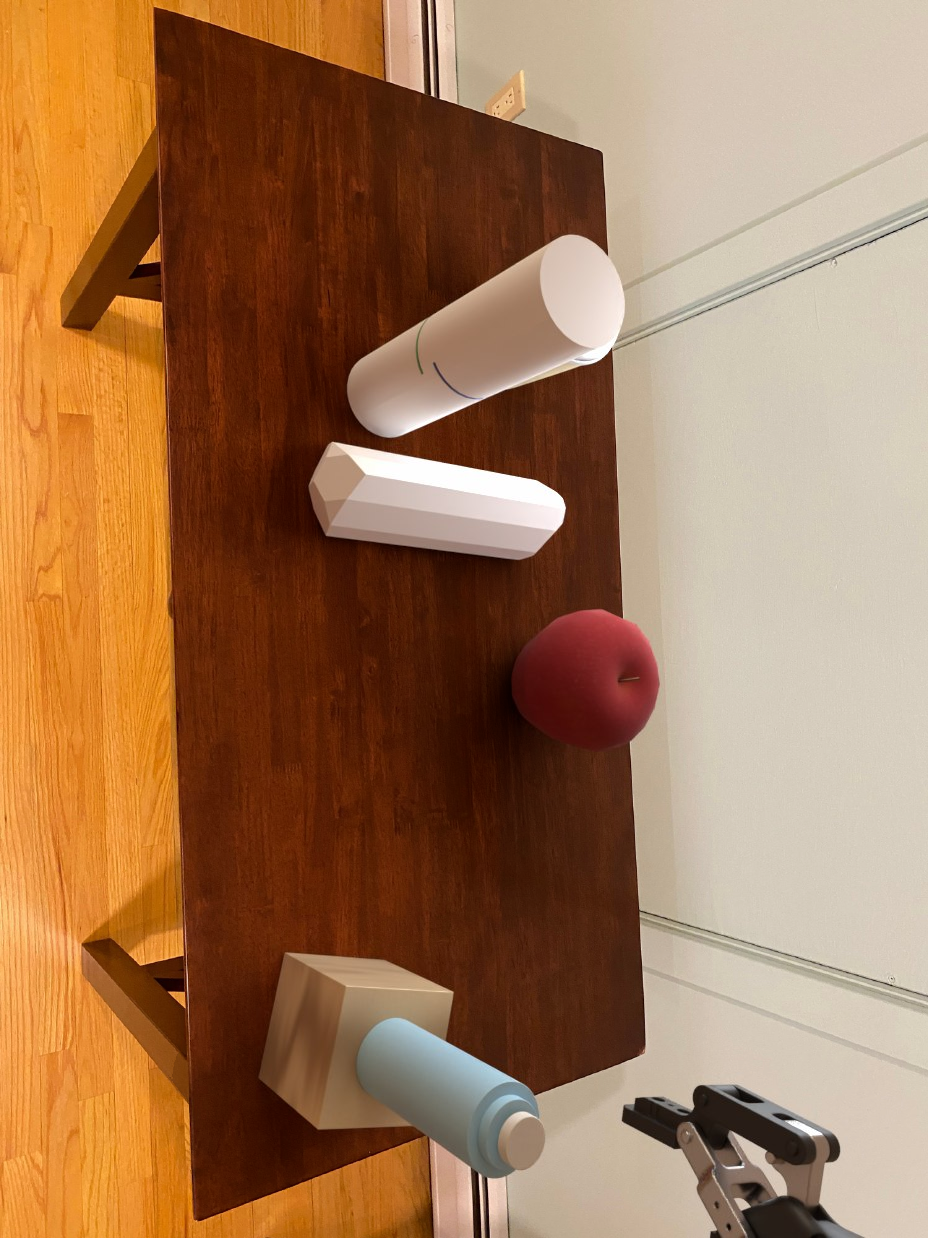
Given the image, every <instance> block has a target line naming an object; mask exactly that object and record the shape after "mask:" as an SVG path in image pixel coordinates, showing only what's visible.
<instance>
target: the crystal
mask: <svg viewBox="0 0 928 1238" xmlns="http://www.w3.org/2000/svg"><path fill="white" fill-rule="evenodd" d="M314 469H315V470H314V471H313V474H312V476H311V478H310V481H309V484H308V492H309V495H310V499H311V504H312V508H313V509H312V510H313V511H314V514H315V515H316V518H317V520H318V522H319V525H320V527H321V528H322V531H323V534H324V535H325V536H326V537H331V538H332V537H333V538H339V539H349V540H358V541H364V542H365V541H366V542H371V543H372V542H374V543H380V544H388V545H395V546H396V545H397V546H406V547H413V548H419V549H420V548H421V549H428V550H430V549H431V550H437V551H445V552H452V553H453V552H454V553H460V554H468V555H475V556H476V555H477V556H485V557H491V558H492V557H493V558H500V559H507V560H508V559H509V560H515V561H516V560H517V561H521V560H524V559H528V558H530V557H534V556H535V554H536V553H537V552H538V551H539V550H540V549H541V548H542V547H543V546H544V545H545V544H546V543H547V542H548V540H550V539H551V538H552V536H553V535H554V534H555V533H556V532H557V531H558V529H560V528H561V526H562V525H563V523H564V519H565V514H566V504H565V502H564V499H563V497H562V496H561V495H560V494H559V493H558V492H556V491H555V490H553V489H552V488H550V487H548V486H547V485H545V484H543V483H541V482H540V481H538V480H535V479H531V478H524V477H521V476H515V475H509V474H503V473H498V472H493V471H489V470H482V469H477V468H472V467H467V466H462V465H457V464H450V463H446V462H445V463H444V462H441V461H435V460H429V459H424V458H420V457H414V456H410V455H409V456H408V455H404V454H398V453H394V452H387V451H383V450H378V449H371V448H367V447H362V446H356V445H352V444H351V445H350V444H346V443H341V442H336V441H335V442H334V441H330V442H329V443H328V444H327V446H326V447H325V450H324V452H323V454H322V456H321V457H320V460H319V462H318V463H317V466H316V467H315V468H314Z"/></svg>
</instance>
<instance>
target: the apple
mask: <svg viewBox="0 0 928 1238" xmlns="http://www.w3.org/2000/svg"><path fill="white" fill-rule="evenodd" d="M660 686H661V683H660V675H659V667H658V662H657V660H656V657H655V654H654V651H653V648H652V646H651V642H650V640H649V639H648V638H647V637H646V635H645V634H644V632H643V631H642V630H641V628H640V627H639V626H638V624H637V623H634V622H632V621H630V620H627V619H626V618H625V619H624V618H622V617H620V616H618V615H617V614H616V615H615V614H614V613H611V612H609V611H607V610H604V609H602V608H598V609H586V610H585V609H583V610H578V611H574V612H572V613H568V614H565V615H562V616H559V617H556V618H554V620H553V621H552V622H550V623H549V624H548V625H547V626H545V627H544V628H543V629H542V630H541V631H540V632H539V633H537V634H536V635H535V636H533V638H531V639H530V640H529V641H528V642H527V643H525V645H524V646H523V647H522V649H521V650H520V652H519V654H518V655H517V656H516V658H515V661H514V665H513V669H512V673H511V696H512V699H513V701H514V703H515V706H516V708H517V711H518V713H519V714H520V715H521V716H522V717H523V718H524V719H525V720H526V721H527V722H528V723H529V724H530V725H531V726H533V727H534V728H535V729H537V730H539V731H540V732H541V733H543V734H545V735H546V736H548V737H549V738H551V739H552V740H555V741H557V742H560V743H564V744H568V745H571V746H573V747H577V748H580V749H583V750H588V751H590V752H594V753H599V752H604V751H610V750H617V749H618V748H620V747H622V746H624V745H626V744H628V743H630V742H632V741H633V740H634V739H635V738H636V737H637V736H638V735H639V733H641V732H642V731H643V729H644V728H646V726H647V724H648V722H649V720H650V718H651V716H652V714H653V712H655V708H656V704H657V699H658V695H659V691H660Z"/></svg>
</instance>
